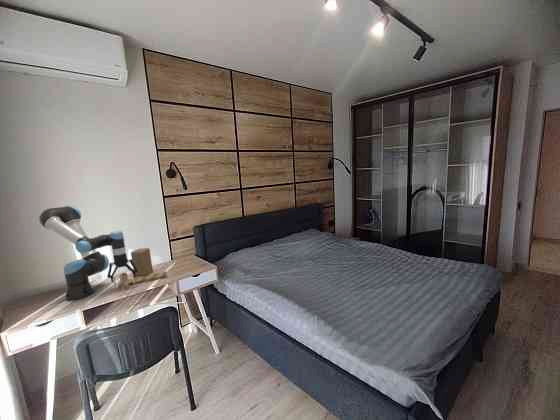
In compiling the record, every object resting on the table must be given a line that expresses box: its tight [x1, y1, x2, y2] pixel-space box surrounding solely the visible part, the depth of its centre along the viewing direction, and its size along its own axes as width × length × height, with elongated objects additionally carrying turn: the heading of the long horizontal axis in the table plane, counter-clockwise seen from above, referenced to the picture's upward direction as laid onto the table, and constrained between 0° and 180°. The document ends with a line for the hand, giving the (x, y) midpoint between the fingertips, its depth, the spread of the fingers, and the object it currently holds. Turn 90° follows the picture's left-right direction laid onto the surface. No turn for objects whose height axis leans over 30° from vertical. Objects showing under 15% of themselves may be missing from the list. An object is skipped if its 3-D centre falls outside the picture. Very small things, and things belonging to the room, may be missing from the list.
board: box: [118, 271, 168, 289], centre depth 190 cm, size 31×9×2 cm, turn 115°
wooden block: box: [130, 248, 154, 277], centre depth 204 cm, size 10×10×20 cm
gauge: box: [118, 272, 130, 291], centre depth 181 cm, size 4×12×11 cm, turn 25°
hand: (124, 284), depth 178 cm, fingers open, 11 cm apart
